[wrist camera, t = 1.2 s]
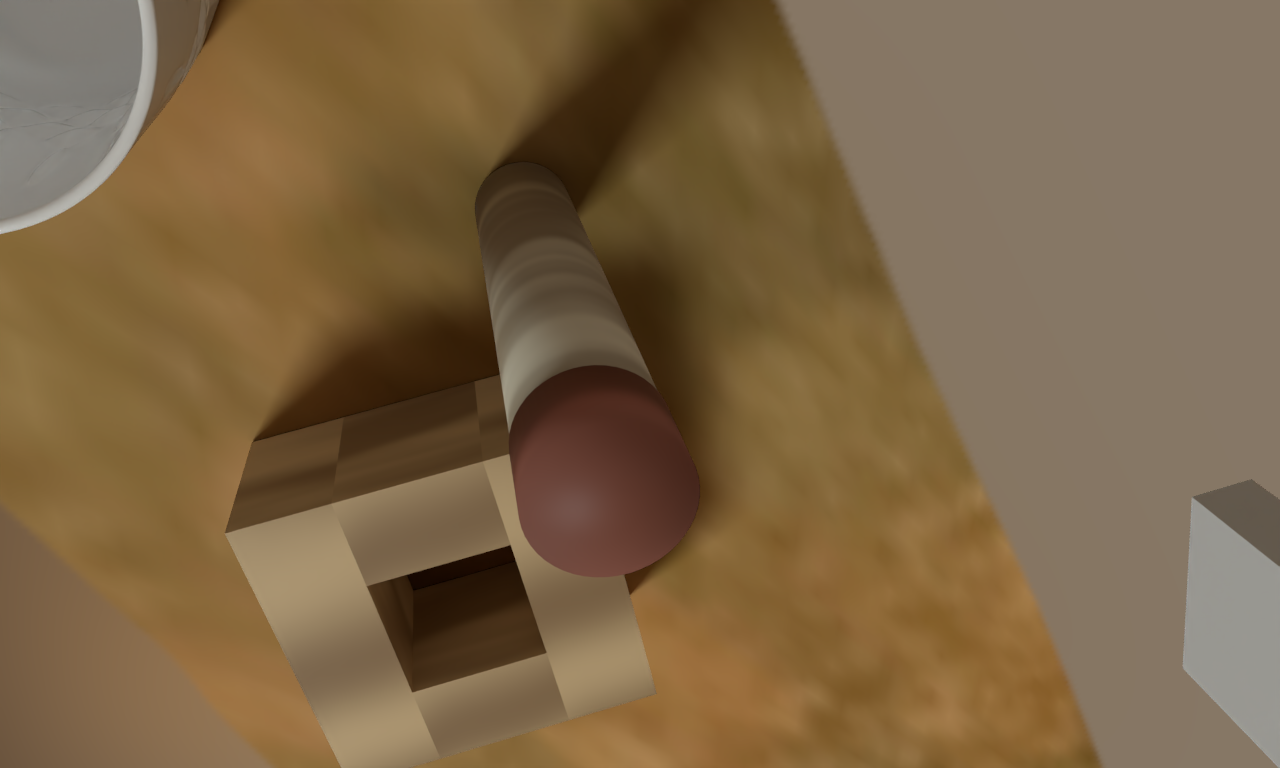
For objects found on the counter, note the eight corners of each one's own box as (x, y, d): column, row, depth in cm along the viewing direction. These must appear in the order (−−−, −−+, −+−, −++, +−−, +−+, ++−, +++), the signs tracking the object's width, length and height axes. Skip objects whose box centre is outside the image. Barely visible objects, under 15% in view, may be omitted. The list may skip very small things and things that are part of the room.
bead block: (252, 442, 32) (224, 533, 27) (563, 357, 33) (585, 432, 28) (358, 675, 37) (350, 785, 32) (628, 597, 37) (656, 693, 33)
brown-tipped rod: (461, 174, 29) (496, 450, 15) (558, 149, 30) (682, 399, 16) (488, 266, 31) (544, 597, 17) (582, 242, 31) (714, 548, 17)
